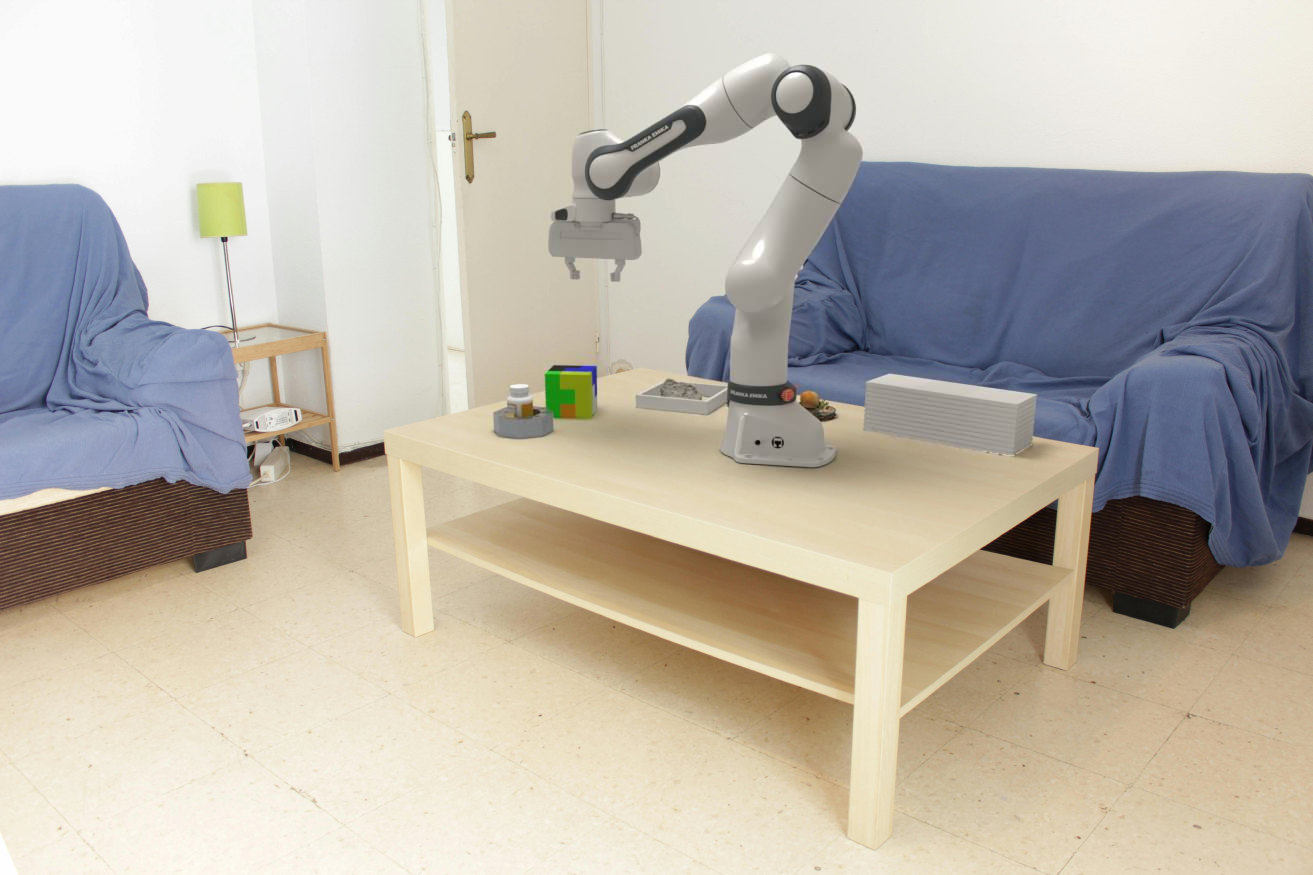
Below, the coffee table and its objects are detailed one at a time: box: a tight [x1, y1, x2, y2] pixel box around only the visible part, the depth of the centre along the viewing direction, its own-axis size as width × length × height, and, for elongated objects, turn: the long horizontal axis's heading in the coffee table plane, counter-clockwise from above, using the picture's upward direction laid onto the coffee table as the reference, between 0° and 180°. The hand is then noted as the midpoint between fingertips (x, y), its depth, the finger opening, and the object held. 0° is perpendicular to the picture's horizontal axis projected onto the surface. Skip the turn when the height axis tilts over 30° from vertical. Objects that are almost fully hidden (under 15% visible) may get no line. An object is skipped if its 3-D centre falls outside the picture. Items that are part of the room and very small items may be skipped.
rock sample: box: [659, 378, 703, 401], centre depth 233 cm, size 11×8×9 cm
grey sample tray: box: [635, 379, 728, 416], centre depth 237 cm, size 18×18×3 cm
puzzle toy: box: [544, 364, 598, 420], centre depth 227 cm, size 10×10×10 cm
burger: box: [798, 389, 837, 423], centre depth 225 cm, size 12×12×8 cm
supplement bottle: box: [506, 383, 534, 417], centre depth 212 cm, size 5×5×10 cm
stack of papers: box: [862, 373, 1038, 455], centre depth 206 cm, size 32×11×11 cm, turn 51°
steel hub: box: [492, 405, 555, 440], centre depth 212 cm, size 12×12×5 cm
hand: (595, 280), depth 210 cm, fingers open, 8 cm apart
